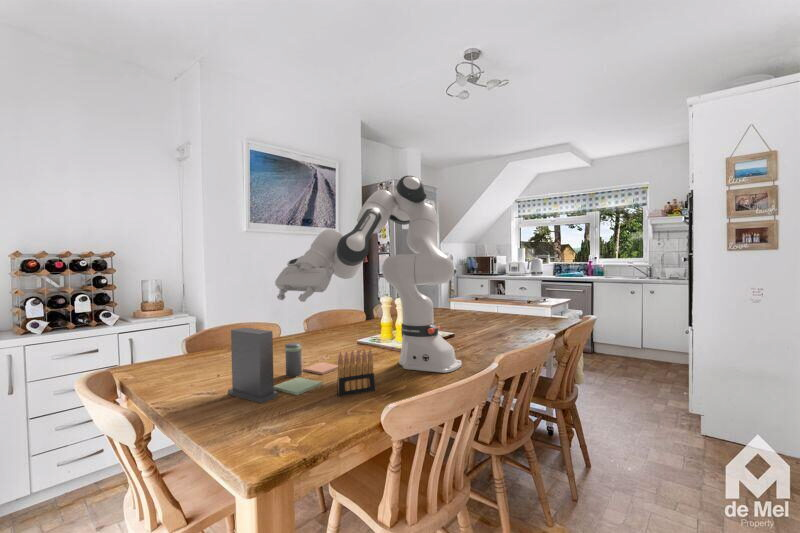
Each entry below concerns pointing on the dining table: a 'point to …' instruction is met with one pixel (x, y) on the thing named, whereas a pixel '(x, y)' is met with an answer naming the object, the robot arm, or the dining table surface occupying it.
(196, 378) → the dining table surface
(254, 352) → the block
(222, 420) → the dining table surface
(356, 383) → the ammunition clip
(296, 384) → the sage green pad
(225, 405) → the dining table surface
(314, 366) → the terracotta pad
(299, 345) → the cartridge
